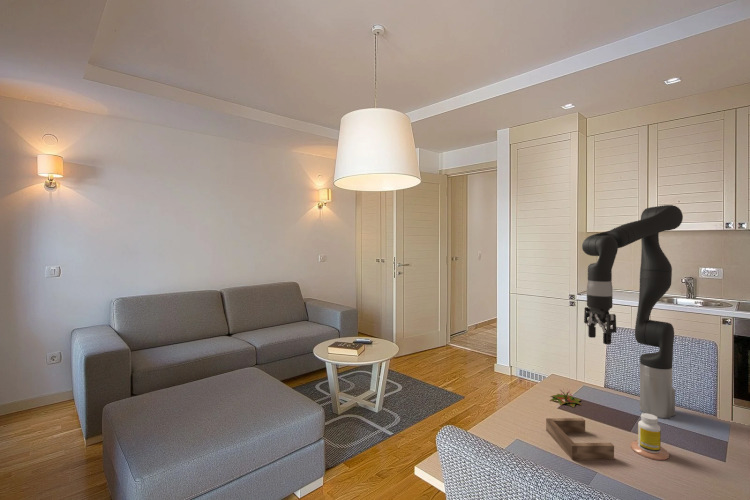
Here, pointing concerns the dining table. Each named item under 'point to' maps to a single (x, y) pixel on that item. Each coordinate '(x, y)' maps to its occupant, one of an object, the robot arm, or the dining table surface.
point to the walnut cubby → (577, 450)
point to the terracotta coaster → (656, 456)
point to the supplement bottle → (649, 433)
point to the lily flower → (566, 397)
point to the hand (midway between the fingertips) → (599, 340)
